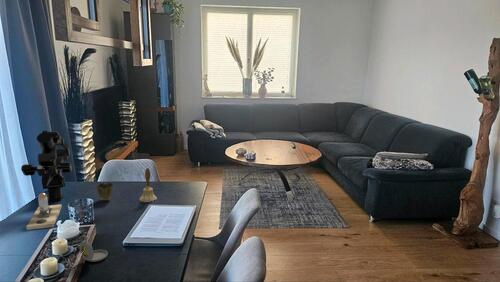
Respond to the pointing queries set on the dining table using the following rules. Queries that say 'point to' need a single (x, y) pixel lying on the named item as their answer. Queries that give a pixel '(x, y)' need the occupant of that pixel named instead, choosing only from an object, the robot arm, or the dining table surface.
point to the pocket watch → (91, 252)
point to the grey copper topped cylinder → (43, 206)
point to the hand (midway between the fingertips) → (45, 185)
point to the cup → (105, 190)
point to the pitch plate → (44, 218)
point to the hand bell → (147, 189)
